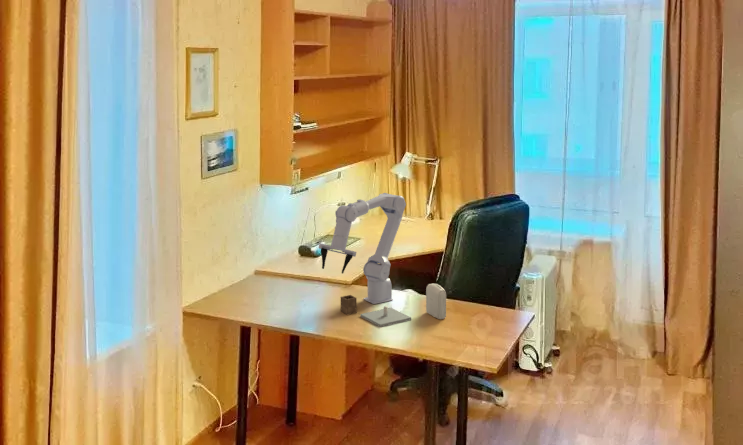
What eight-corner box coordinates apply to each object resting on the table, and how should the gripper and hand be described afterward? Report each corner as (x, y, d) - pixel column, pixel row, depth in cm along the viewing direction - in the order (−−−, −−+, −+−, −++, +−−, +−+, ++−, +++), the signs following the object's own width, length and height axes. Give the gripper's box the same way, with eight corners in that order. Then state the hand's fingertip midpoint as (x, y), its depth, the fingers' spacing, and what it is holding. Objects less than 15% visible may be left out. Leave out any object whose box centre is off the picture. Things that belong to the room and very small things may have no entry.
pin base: (390, 309, 331) (390, 298, 330) (411, 319, 320) (411, 307, 319) (360, 316, 324) (360, 304, 323) (380, 327, 313) (380, 314, 311)
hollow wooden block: (350, 309, 332) (350, 294, 331) (356, 312, 329) (356, 297, 327) (340, 311, 330) (340, 296, 328) (346, 314, 326) (346, 299, 325)
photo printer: (424, 312, 329) (424, 281, 326) (434, 310, 330) (434, 280, 328) (437, 320, 320) (438, 289, 317) (447, 318, 321) (448, 287, 319)
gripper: (321, 232, 319) (313, 267, 319) (358, 240, 319) (350, 275, 319) (322, 232, 326) (314, 266, 326) (359, 240, 326) (351, 274, 326)
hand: (332, 271), depth 323 cm, fingers open, 7 cm apart
